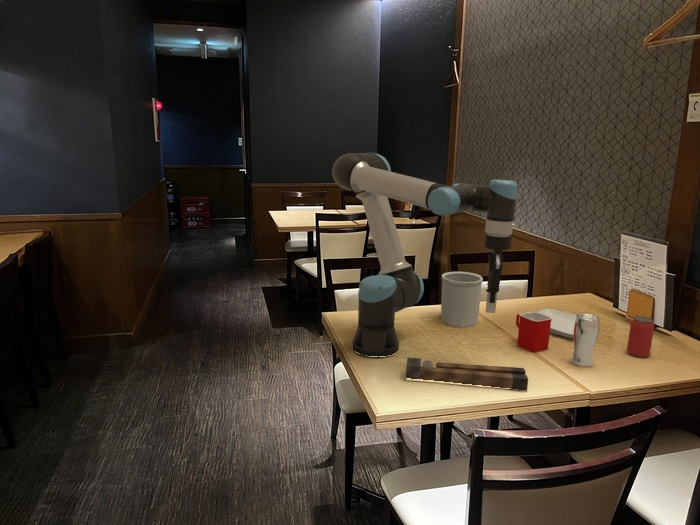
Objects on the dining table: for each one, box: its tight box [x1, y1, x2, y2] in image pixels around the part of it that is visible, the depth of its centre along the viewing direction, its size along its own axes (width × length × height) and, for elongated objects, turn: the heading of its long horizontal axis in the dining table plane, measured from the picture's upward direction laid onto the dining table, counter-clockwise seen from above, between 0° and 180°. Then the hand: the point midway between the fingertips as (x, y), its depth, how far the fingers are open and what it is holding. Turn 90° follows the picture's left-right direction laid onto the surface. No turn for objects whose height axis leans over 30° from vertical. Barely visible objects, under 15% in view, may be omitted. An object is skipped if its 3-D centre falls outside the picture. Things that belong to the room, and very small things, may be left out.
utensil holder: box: [440, 271, 484, 328], centre depth 192 cm, size 15×15×18 cm
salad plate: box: [519, 307, 600, 339], centre depth 189 cm, size 21×21×3 cm
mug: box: [515, 311, 552, 353], centre depth 171 cm, size 12×8×11 cm
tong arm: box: [435, 361, 526, 375], centre depth 146 cm, size 24×2×4 cm, turn 83°
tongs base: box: [405, 357, 529, 391], centre depth 145 cm, size 33×6×5 cm, turn 81°
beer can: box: [626, 315, 655, 358], centre depth 165 cm, size 7×7×12 cm
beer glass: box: [570, 312, 600, 368], centre depth 157 cm, size 7×7×15 cm
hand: (490, 311), depth 154 cm, fingers closed
